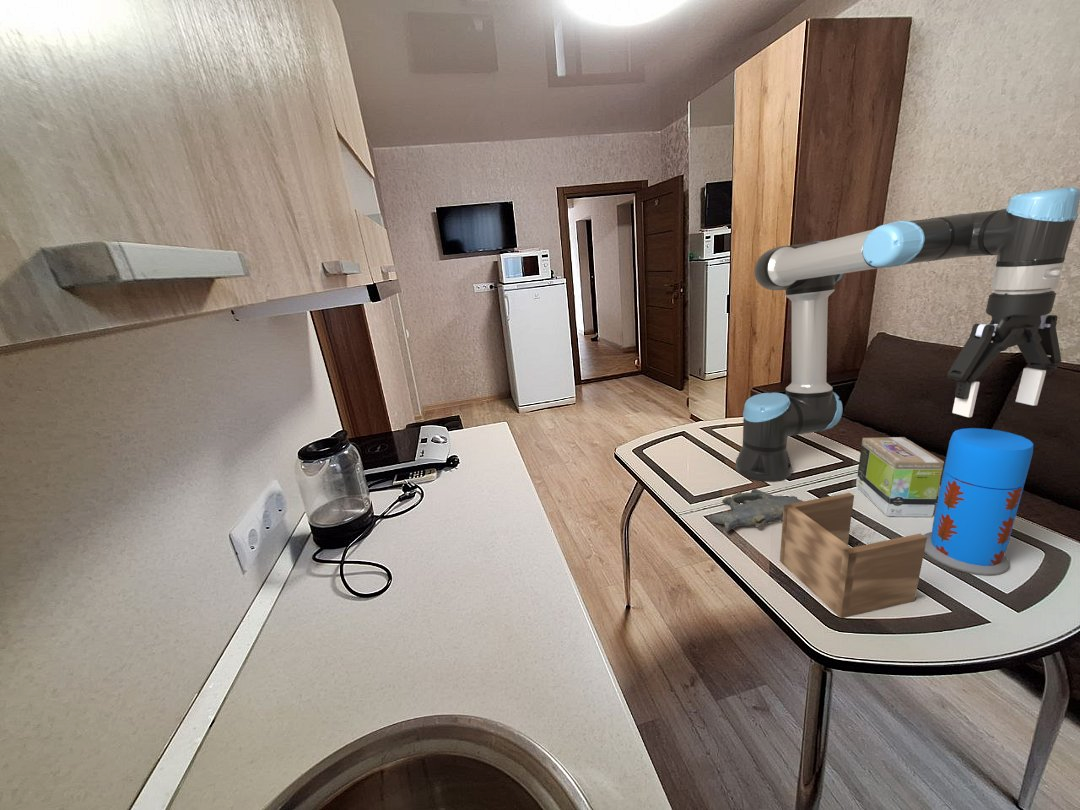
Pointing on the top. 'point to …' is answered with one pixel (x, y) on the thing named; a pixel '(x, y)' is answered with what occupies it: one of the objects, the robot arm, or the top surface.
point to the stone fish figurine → (753, 509)
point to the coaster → (963, 566)
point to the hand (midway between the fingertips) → (994, 409)
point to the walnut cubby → (847, 558)
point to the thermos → (980, 494)
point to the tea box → (899, 476)
